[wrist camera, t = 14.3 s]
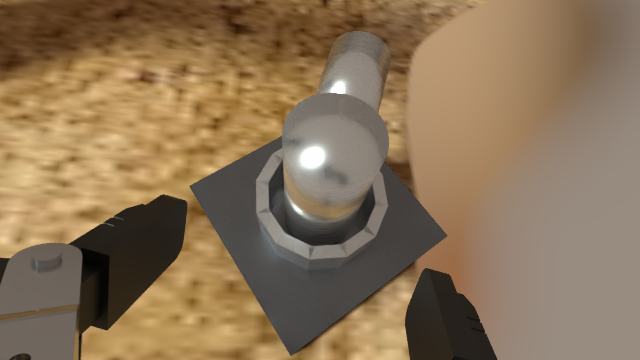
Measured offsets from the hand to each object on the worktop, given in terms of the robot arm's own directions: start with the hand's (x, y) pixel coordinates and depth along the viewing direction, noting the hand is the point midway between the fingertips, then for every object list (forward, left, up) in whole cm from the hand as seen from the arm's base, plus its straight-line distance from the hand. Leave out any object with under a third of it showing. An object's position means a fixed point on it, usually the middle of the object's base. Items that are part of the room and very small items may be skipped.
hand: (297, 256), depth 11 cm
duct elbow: (-5, +7, -13) cm, 16 cm away
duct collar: (-4, +5, -14) cm, 16 cm away
